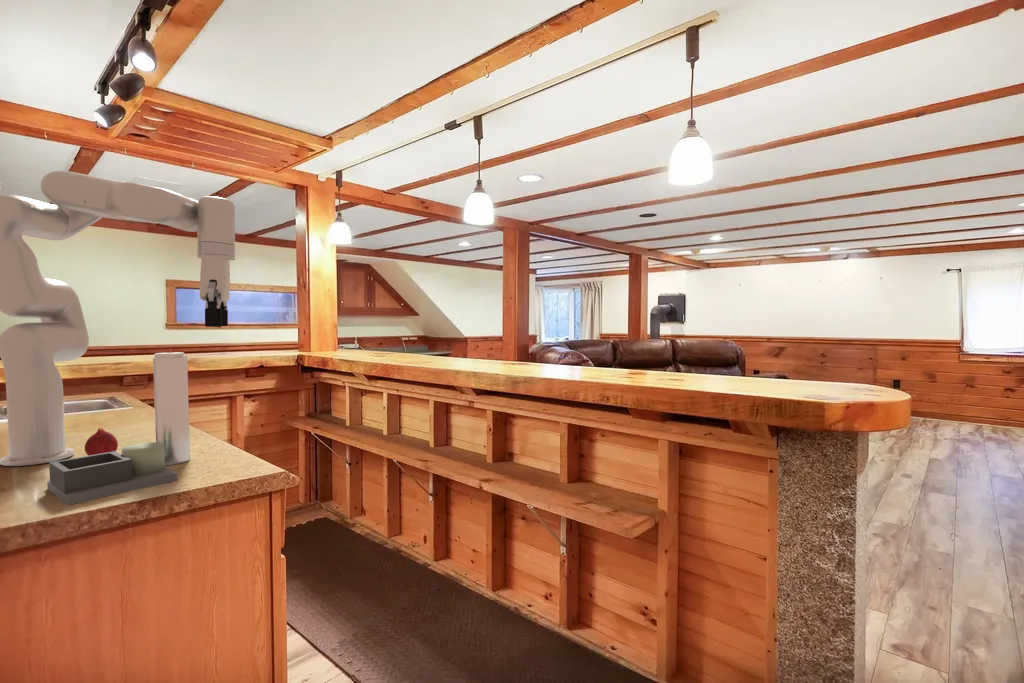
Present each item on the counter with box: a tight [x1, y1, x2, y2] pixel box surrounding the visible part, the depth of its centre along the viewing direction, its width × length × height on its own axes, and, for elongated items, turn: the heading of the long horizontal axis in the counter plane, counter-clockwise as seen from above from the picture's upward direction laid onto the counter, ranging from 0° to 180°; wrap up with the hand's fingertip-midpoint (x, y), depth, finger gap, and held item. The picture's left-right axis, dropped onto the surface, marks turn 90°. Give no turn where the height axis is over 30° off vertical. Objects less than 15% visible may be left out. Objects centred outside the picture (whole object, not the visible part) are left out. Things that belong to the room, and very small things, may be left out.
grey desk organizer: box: [46, 441, 178, 506], centre depth 99 cm, size 14×17×6 cm
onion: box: [84, 426, 119, 456], centre depth 114 cm, size 6×6×8 cm
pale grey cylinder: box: [152, 351, 191, 466], centre depth 115 cm, size 6×6×25 cm
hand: (216, 326), depth 117 cm, fingers open, 9 cm apart
